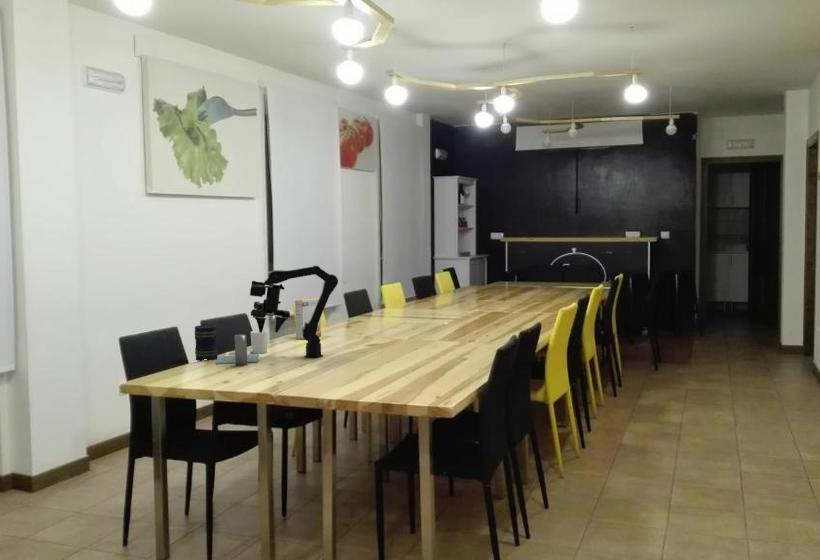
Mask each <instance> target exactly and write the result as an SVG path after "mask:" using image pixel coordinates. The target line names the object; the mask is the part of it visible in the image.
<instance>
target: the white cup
mask: <svg viewBox="0 0 820 560" xmlns="http://www.w3.org/2000/svg"><path fill="white" fill-rule="evenodd" d="M250 341H251V348H252V354H256V353H260V354H265V352H266V353H268V331H267V330H263V331H262V333H260V332H259V330H252V331H250Z"/></svg>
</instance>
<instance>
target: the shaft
mask: <svg viewBox="0 0 820 560" xmlns="http://www.w3.org/2000/svg"><path fill="white" fill-rule="evenodd" d="M247 338H248V337H247V334H235V335H234V352H235V365H236V367H245V366H244V365H247V366H248V363H247V351H248V347H247V346H248V345H247V342H248V341H247V340H248V339H247Z"/></svg>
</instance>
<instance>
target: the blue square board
mask: <svg viewBox="0 0 820 560" xmlns="http://www.w3.org/2000/svg"><path fill="white" fill-rule="evenodd" d="M259 356H260V354H256V353H251V351H249V350H247V364H249V363H248V362H258V363H259V358H260V357H259ZM217 357H218V359H216V361H215V365H231V364H230V363H235V351H226V353H225V354H224V355H223V354H222V355H221V354H220V355H217ZM258 357H259V358H258Z"/></svg>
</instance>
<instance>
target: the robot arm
mask: <svg viewBox="0 0 820 560" xmlns="http://www.w3.org/2000/svg"><path fill="white" fill-rule="evenodd" d="M314 275H315V276H317V277H318V278H320V279H321V280H323V285H322V290H321V293H320V296H319V297H318V298H319V300H318V303H317V305H316V308H315V310H314V312H313V315H312V317H311V319H310V321H309V322H308V323H307V322H305V324H304V327H303V329H302V334H303V337H304V339H305V340H304V341H306V342H307V343H306V344H305V345H306V346H305V355H304V356H303V357H305V358H312V359H316V358H320V357H324V354H322V343H321V338H320V337H318V336H317V335H316V332H317V327H318V322H319V320H320V317H321V318H322V315H323V312H324V309H325V308H326V306H327V303H328V301H329V299H330V296H331V294H332V293H333V291H334V290H335V289H336V287H337V286H338V284H339V279H338V277H337V276H336V275H335V274H332V273H328V272H326V271H325V270H323V269H322V268H320V266H318V265H313V266H307V267H302V268H296V269H291V270H286V269H285V270H278V269H277V270H271V271H270V273H269V275H268V277H267V278H266V280H264V282H263V281H262V282H261V281H256V280H252V281H251V286H250V290H249V296H250V297H259V298H263V296H266V298H265V299H264V300H263V302H260V301H254V302H253V309H252V310H251V311H250V316H252V318H253V319H255V321H256V324H257V327H258V331H259V332H260V333H262V331H264V326H265V323H266V321H267V319H266V318H267V317H266V316H272V317H273V316H274V318H275V329H274V332H275V333H278V332H279V330H280V329H281V327H282V326H283V325H284V323H285V322H286V320H288V318H291V313H290V311H289V310H284V309H279V305H281V301H280V295H281V290H282V291H283V290H285V287H284V285H283V284H282V282H286V281H288V280H290V279H296V278H303V277H308V276H314ZM270 285H272V286H270Z"/></svg>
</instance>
